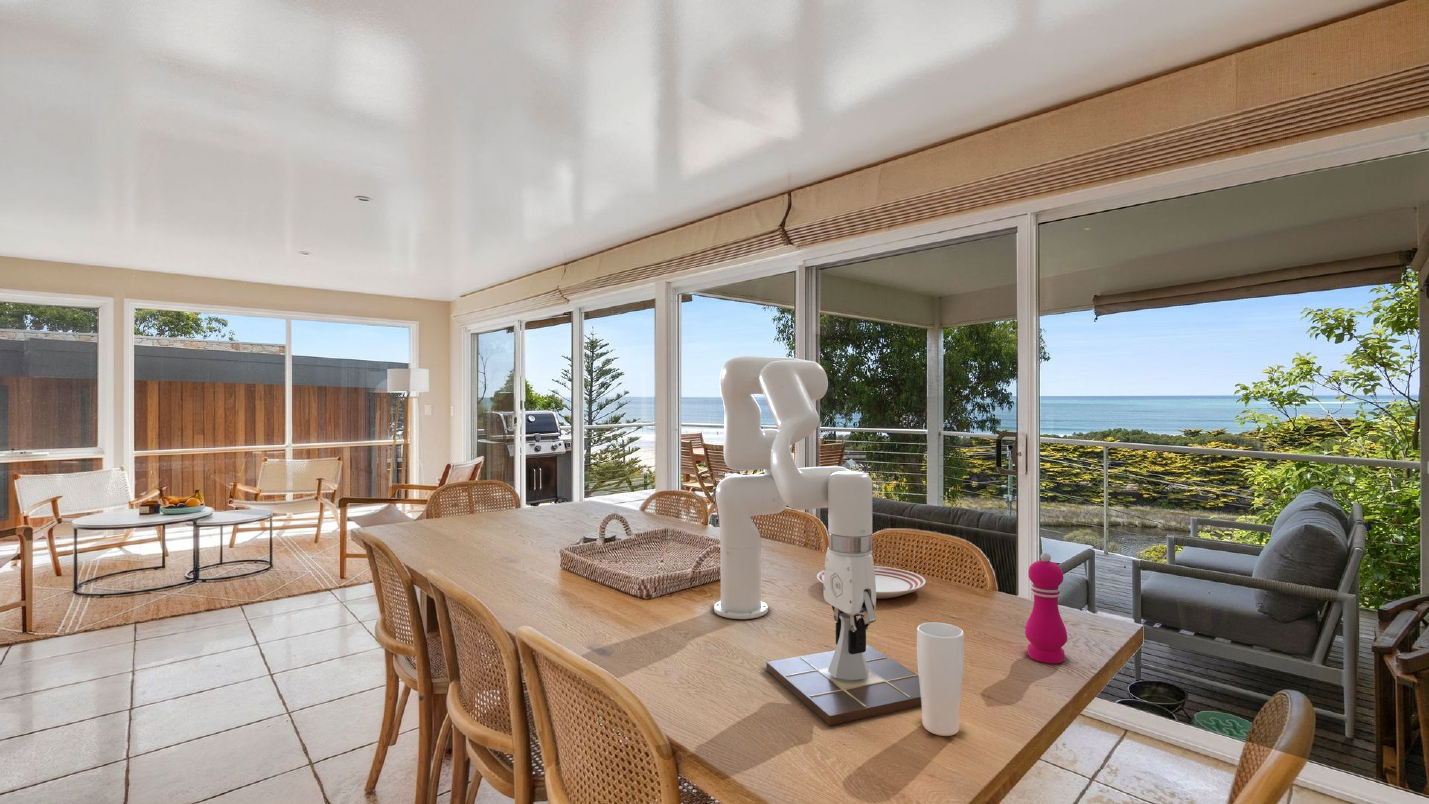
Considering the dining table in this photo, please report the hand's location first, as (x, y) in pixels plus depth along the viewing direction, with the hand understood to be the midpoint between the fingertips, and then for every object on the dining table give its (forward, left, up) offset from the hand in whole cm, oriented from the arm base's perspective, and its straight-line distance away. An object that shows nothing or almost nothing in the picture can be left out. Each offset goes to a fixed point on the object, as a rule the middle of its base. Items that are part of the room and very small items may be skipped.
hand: (850, 647), depth 114 cm
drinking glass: (+18, +4, -7) cm, 20 cm away
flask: (0, 0, -5) cm, 5 cm away
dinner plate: (-46, +36, -7) cm, 59 cm away
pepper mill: (+4, +41, -7) cm, 42 cm away
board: (0, 0, -6) cm, 6 cm away
